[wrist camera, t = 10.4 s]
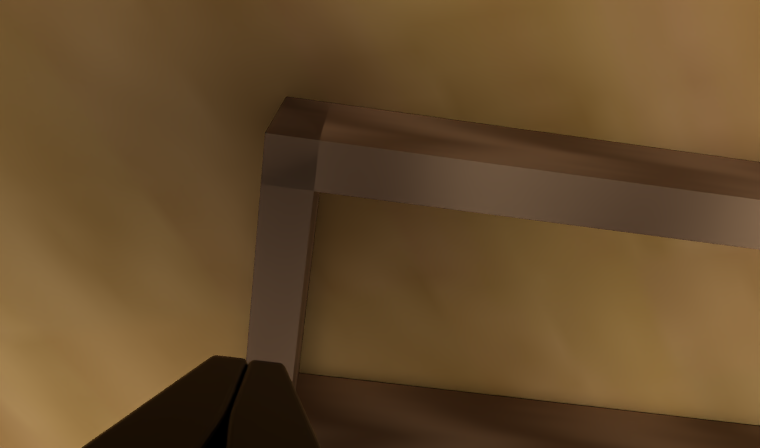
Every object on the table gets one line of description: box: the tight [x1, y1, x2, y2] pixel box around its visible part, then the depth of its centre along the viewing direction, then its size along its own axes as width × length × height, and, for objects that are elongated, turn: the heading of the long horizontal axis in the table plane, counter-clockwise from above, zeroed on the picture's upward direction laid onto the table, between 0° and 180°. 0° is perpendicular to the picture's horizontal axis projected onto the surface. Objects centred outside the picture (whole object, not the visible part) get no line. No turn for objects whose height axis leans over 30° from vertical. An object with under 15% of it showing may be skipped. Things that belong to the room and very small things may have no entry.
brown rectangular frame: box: [246, 97, 760, 448], centre depth 20 cm, size 18×10×4 cm, turn 82°
